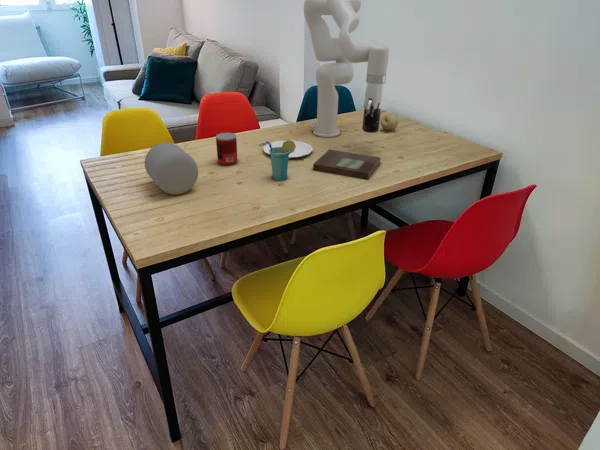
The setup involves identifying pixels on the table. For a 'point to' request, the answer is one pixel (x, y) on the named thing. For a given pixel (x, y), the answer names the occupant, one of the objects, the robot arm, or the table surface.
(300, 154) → the plate
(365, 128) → the supplement bottle
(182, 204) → the table surface
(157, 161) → the grey rounded cylinder
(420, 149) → the table surface
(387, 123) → the fruit
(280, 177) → the cup
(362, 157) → the walnut board
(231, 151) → the canned food
